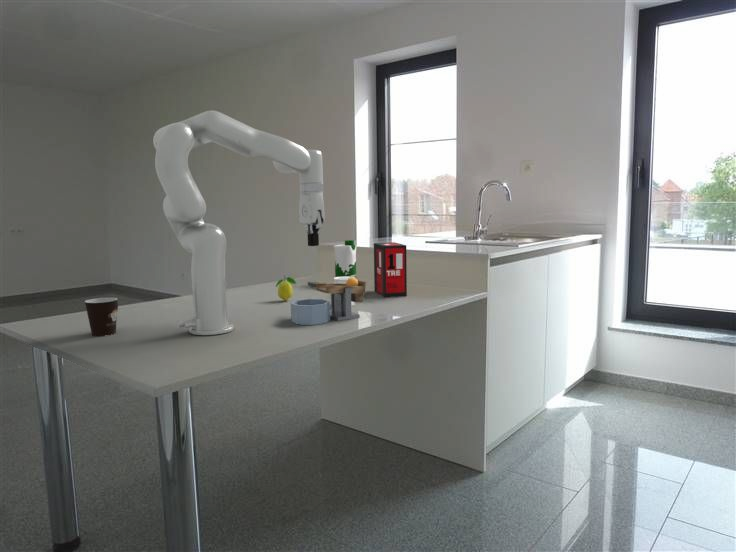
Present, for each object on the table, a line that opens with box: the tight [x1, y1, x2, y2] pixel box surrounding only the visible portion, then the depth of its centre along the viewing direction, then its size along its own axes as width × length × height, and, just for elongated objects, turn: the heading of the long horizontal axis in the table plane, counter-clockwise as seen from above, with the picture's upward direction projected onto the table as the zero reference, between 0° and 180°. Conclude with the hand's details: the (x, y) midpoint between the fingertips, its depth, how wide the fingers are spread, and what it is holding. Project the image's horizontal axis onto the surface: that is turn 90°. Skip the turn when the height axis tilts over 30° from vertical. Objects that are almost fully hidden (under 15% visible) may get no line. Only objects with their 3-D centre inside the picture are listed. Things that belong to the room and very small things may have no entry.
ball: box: [346, 277, 359, 286], centre depth 183 cm, size 4×4×4 cm
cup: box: [290, 298, 331, 326], centre depth 176 cm, size 11×11×6 cm
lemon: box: [275, 275, 297, 302], centre depth 212 cm, size 7×6×10 cm
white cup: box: [333, 276, 356, 307], centre depth 202 cm, size 8×8×10 cm
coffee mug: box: [84, 297, 119, 337], centre depth 165 cm, size 12×9×10 cm
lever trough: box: [307, 279, 367, 303], centre depth 184 cm, size 14×14×7 cm
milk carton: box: [333, 239, 357, 279], centre depth 249 cm, size 9×9×20 cm
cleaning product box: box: [373, 241, 408, 298], centre depth 224 cm, size 16×9×20 cm, turn 13°
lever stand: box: [330, 288, 360, 322], centre depth 182 cm, size 8×10×10 cm
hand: (313, 245), depth 183 cm, fingers closed
